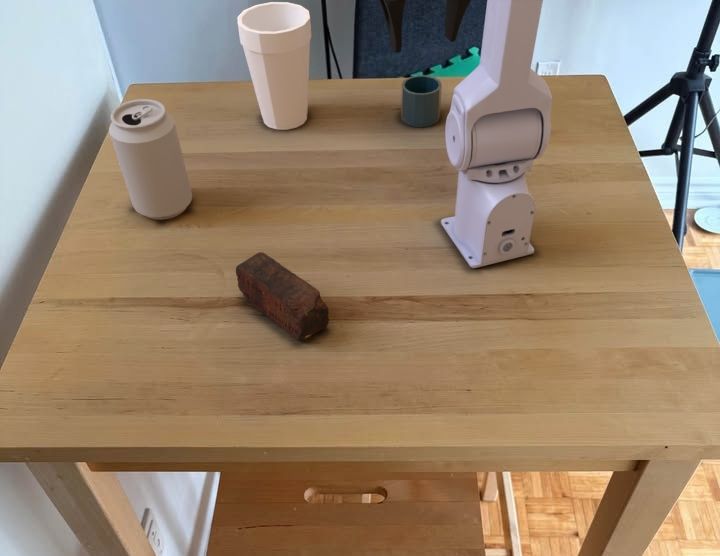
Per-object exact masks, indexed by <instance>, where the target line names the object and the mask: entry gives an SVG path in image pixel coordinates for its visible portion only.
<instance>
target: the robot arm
mask: <svg viewBox="0 0 720 556" xmlns="http://www.w3.org/2000/svg"><path fill="white" fill-rule="evenodd" d="M445 1H446V5H445V6H446V7H445V19H444V36H445V37H446V39H447V40H448V41H449V42H450V43H454V42H456V41H457V37H458V33H459V30H460V27H461V23H462V21H463V18H464V16H465V13H466V11H467V9H468V7H469V5H470V3H471V1H472V0H445ZM378 2H379V5H380V8H381V10H382V13H383V15H384V20H385V23H386V27H387V31H388V32H387V33H388V37H389V44H390V45H389V46H390V47H391V49H392V50H393V52H394V53H396V54H398V53H402V45H403V33H402V32H403V29H402V28H403V26H402V25H403V18H404V11H405V7H406V6H405V5H406V2H407V1H406V0H378ZM543 2H544V0H487V1H486V7H485V8H486V9H485V16H484V17H485V18H484V25H483V33H482V42H481V51H480V59H479V64H478V66H477V67H475V69H474V70H472V72H470V73H469V74H468V75H467V76H466V77H465V78H463V79H462V80H461V81H460V82H459V83H458V84H457V85H456V86H455V87H454V89H453V95H452V98H451V103H450V105H451V106H450V109H449V113H447V115H446V116H447V117H446V119H445V120H446V121H445V133H444V135H445V136H444V137H445V147H446V152H447V156H448V160H449V162H450V164H451V165H452V166H453V167H454V168H455V169H456V171H458V177H457V186H456V188H457V189H456V199H455V209H454V210H455V211H454V216H448V217H445V218H442V219H441V220H440V225H441V226H442V228H443V229H444V231H445V232H446V233H447V235H448V236H449V238H450V239H451V241H452V242H453V243H454V245H455V246H456V248H457V250H458V251H459V253H460V254H461V255H462V257H463V258H464V259H465V261H466V262H467V264H468V265H469V267H470V268H472V269H476V268H481V267H485V266H489V265H493V264H498V263H502V262H505V261H510V260H514V259H517V258H521V257H525V256H529V255H533V254H534V253H535V248H534V246H533V245H532V244H531V242H530V240H531V235H532V229H533V224H534V220H535V214H536V201H535V200H534V197H533V196H532V194H531V193H530V190H529V188H528V185H527V178H526V174H527V172H529V171H532V170H533V165H534V160H538V159H540V158H542V157H543V155H544V153H545V152H546V150H547V149H548V146H549V143H550V140H551V134H552V133H551V131H552V120H551V113H552V104H553V96H552V93H551V90H550V87H549V85H548V84H547V82H546V80H545V79H544V78H543V77H542V76H541V75H539V73H537V72H536V71H534V69H533V68H532V63H533V57H534V52H535V47H536V43H537V42H536V41H537V36H538V29H539V24H540V19H541V13H542V7H543Z"/></svg>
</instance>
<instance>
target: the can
mask: <svg viewBox="0 0 720 556" xmlns="http://www.w3.org/2000/svg"><path fill="white" fill-rule="evenodd" d="M110 121H111V123H110V125H109V127H108V133H109V136H110V139H111V143H112V146H113V148H114V152H115V154H116V155H115V156H116V158H117V162H118V164H119V168H120V170H121V174H122V176H123V179H124V180H123V181H124V182H125V186H126V189H127V192H128V195H129V199H130V201H131V203H132V208H134V210H135V212H137V213H139V214H140V215H142V216H144V217H146V218H148V219H152V220H169V219H172V218H174V217H177V216H179V215H181V214H182V213H183V212H185V210H186V209H187V207H188V206H190V204H191V202H192V200H193V193H192V192H193V191H192V188H191V184H190V180H189V176H188V175H189V174H188V171H187V168H186V163H185V160H184V159H185V158H184V156H183V151H182V147H181V143H180V137H179V134H178V131H177V127H176V122H175V119H174V117H173V116H172V115H171V114H170V113H168V112H167V109H166V106H165V105H164V104H163V103H162V102H159V101H158V100H154V99H150V98H138V99H133V100H129V101H126V102H124V103H121V104H119V105H118V106H117V107H115V108H114V109H113V110H112V112H111V114H110Z"/></svg>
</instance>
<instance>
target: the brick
mask: <svg viewBox="0 0 720 556" xmlns="http://www.w3.org/2000/svg"><path fill="white" fill-rule="evenodd" d="M235 275H236V277H237V279H236V280H237V287H238V289H239V291H240V292H241V293H242V295H243V297H244V298H245V299H244V300H245V301H246V302H247V303H249V304H250V305H252V306H253V307H254V308H255V309H257V310H258V312H259V313H261V314H262V315H264V316H265V317H266V318H267V319H269V320H270V321H271V322H273V323H274V324H276V325H277V326H278V327H280V328H281V329H282V330H283V331H285V332H286V333H287V334H289V335H290V336H291V337H294V338H295V339H296V340H297V341H299V342H305V340H308V339H309V337H312V335H314V334H316V333H319V332H321V331H323V332H324V331H325V330H326V329H327V328H328V325H329V323H330V318H329V307H328V305H327V303H326V302H325V301H324V300H323V299H322V296H321V293H320V291H319V290H318V289H317V288H316V287H314V285H311V284H310V283H308V282H307V281H306V280H304V279H303V278H301V277H300V276H298V275H297V274H296V273H294V272H292V271H291V270H290V269H288V268H286V267H285V266H284V265H282V264H281V263H280V262H278V261H276V259H274V258H273V257H270V256H269V254H267V253H265V252H262V251H259V252H257V253H255V254H253V255H252V256H251V257H249V258H247V259H246V260H244V261H243V262H241V263H239V264H238V265H236V266H235Z"/></svg>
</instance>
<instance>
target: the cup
mask: <svg viewBox="0 0 720 556" xmlns="http://www.w3.org/2000/svg"><path fill="white" fill-rule="evenodd" d="M400 85H401V88H400V89H401V90H400V118H401V121H402V122H403V123H404V124H405V125H407V126H410V127H413V128H426V127H431V126H434V125H435V124H436V123H438V122H439V120H440V116H441V105H442V91H443V85H442V82H441V80H440V79H438V78H437V77H435V76H431V75H425V74H424V75H421V74H419V75H413V76H409V77H407V78H405V79H404V80H403V81H402V83H401V84H400Z"/></svg>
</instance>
